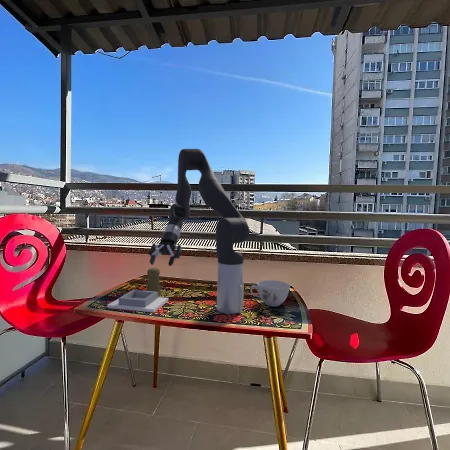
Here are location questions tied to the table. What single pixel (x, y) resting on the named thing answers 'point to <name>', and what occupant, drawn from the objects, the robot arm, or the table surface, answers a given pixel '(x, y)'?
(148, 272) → the cork
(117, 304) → the socket board
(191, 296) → the table surface
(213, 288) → the table surface
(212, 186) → the robot arm
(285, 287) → the teacup
